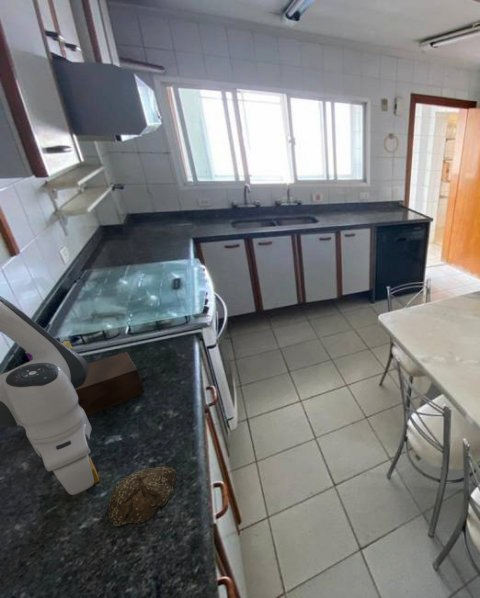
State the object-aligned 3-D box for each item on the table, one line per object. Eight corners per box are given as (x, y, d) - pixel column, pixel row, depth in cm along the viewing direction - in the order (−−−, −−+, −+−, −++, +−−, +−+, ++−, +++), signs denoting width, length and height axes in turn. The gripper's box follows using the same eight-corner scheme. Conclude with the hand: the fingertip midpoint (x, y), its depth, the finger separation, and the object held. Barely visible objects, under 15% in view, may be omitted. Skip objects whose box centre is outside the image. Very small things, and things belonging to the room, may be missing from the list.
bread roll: (120, 481, 77) (112, 467, 75) (181, 465, 81) (175, 451, 79) (97, 537, 66) (88, 523, 64) (169, 516, 70) (162, 501, 68)
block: (74, 494, 73) (67, 481, 72) (71, 481, 76) (64, 468, 74) (99, 481, 77) (93, 468, 75) (96, 469, 79) (90, 456, 77)
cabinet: (82, 418, 93) (70, 391, 89) (75, 396, 100) (64, 370, 96) (145, 394, 103) (137, 369, 99) (134, 375, 110) (126, 351, 106)
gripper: (36, 414, 74) (58, 457, 79) (45, 472, 62) (71, 518, 68) (74, 401, 78) (92, 442, 84) (90, 452, 66) (110, 497, 72)
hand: (83, 477), depth 76 cm, fingers closed on block, 4 cm apart
